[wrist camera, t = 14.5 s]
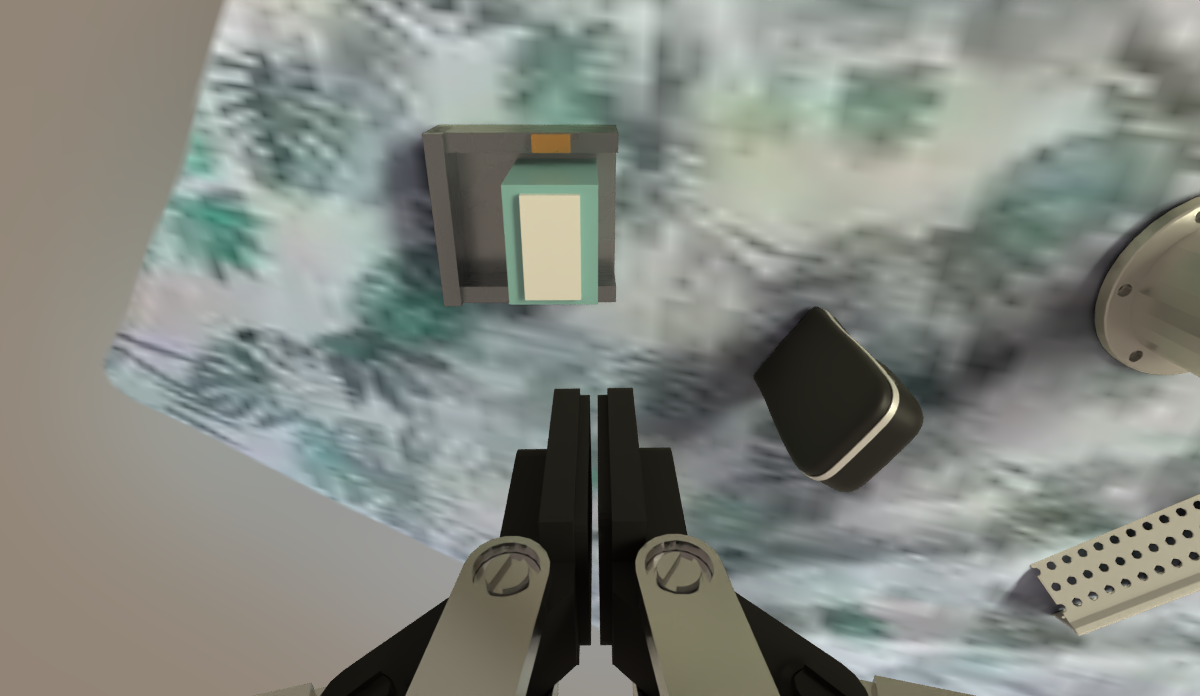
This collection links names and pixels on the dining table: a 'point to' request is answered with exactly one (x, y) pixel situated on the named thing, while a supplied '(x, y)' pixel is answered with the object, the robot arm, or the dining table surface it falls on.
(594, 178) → the block
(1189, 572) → the corner bead
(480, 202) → the tray
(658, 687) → the robot arm
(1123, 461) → the dining table surface
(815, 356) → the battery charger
